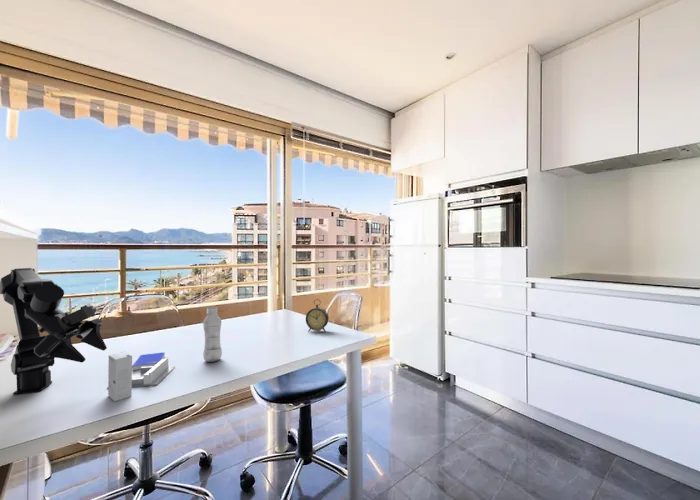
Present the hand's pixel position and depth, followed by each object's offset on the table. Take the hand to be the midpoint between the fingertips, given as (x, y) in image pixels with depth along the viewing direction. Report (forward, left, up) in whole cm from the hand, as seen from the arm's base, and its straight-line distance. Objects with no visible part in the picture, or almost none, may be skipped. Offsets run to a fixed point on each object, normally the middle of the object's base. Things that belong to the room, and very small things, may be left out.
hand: (95, 354), depth 89 cm
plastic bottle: (+29, +19, -13) cm, 37 cm away
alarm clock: (+75, +43, -13) cm, 88 cm away
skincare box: (+6, -1, -13) cm, 14 cm away
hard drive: (+7, +24, -12) cm, 28 cm away
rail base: (+9, +10, -12) cm, 18 cm away
